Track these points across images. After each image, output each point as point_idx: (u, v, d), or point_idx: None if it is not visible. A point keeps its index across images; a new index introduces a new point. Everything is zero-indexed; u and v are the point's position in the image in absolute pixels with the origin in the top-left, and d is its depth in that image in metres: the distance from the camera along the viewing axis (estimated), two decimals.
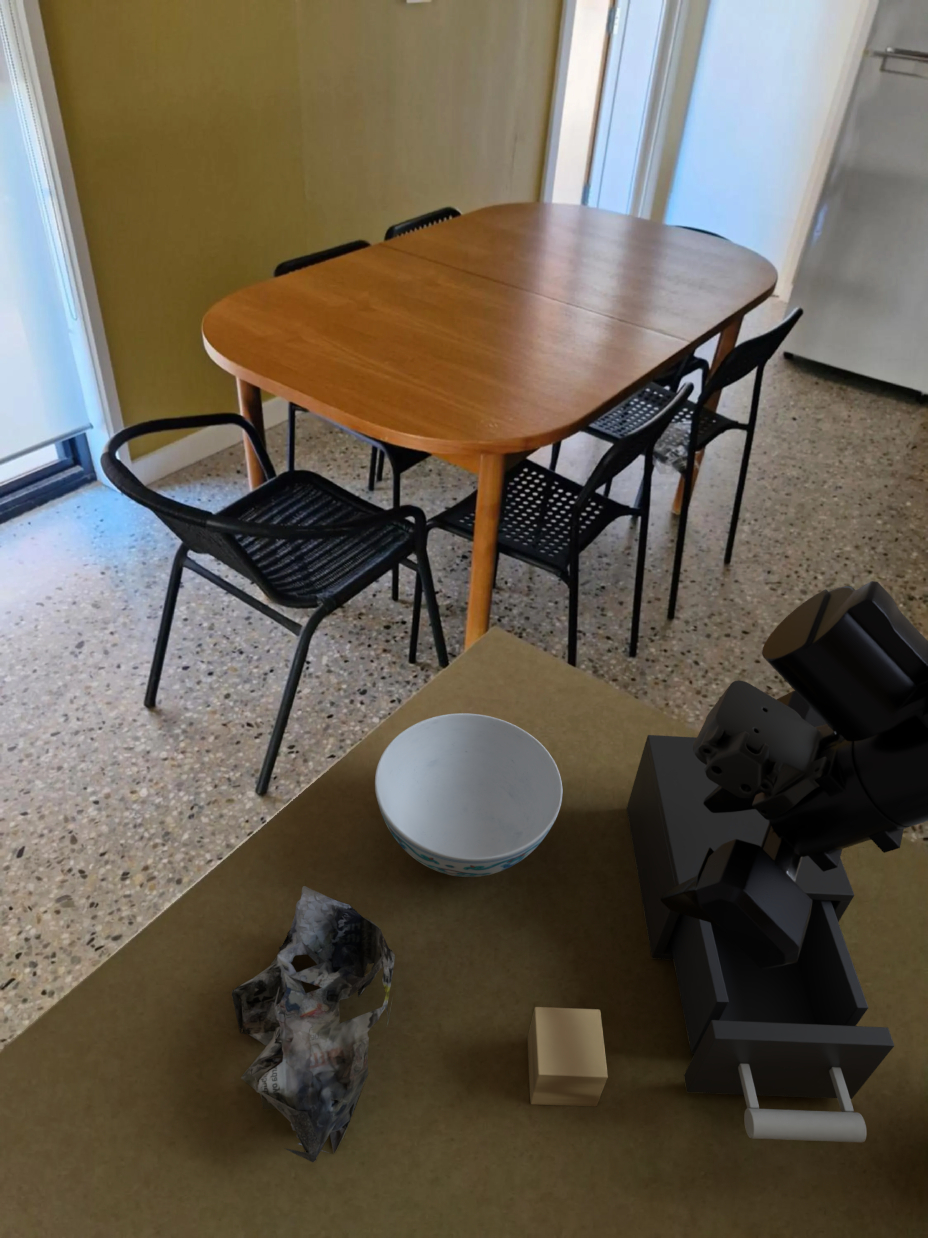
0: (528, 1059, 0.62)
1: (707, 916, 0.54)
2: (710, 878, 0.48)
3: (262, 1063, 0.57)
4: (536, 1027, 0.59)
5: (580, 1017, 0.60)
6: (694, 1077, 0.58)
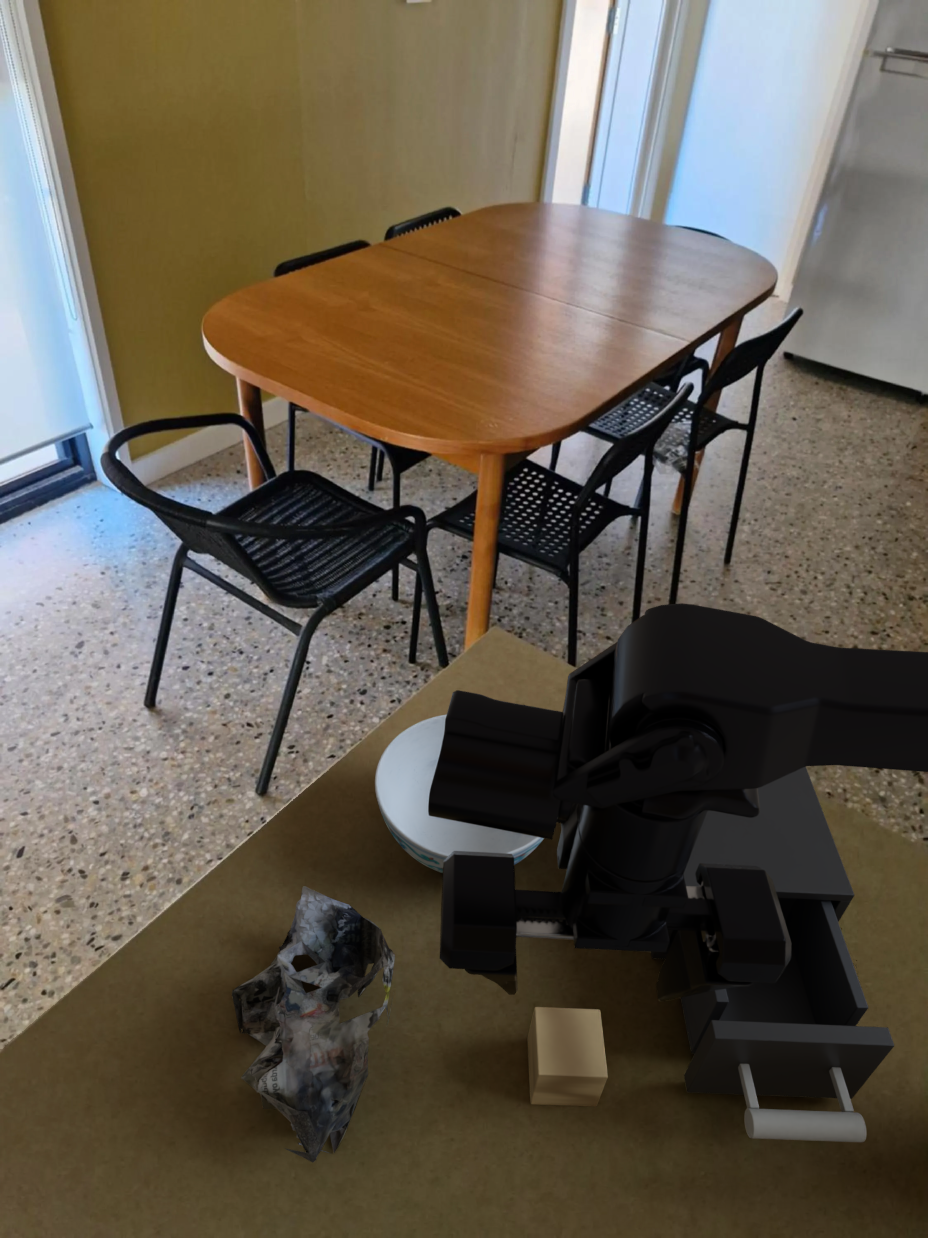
0: (528, 1059, 0.62)
1: None
2: None
3: (262, 1063, 0.57)
4: (536, 1027, 0.59)
5: (580, 1017, 0.60)
6: (694, 1077, 0.58)
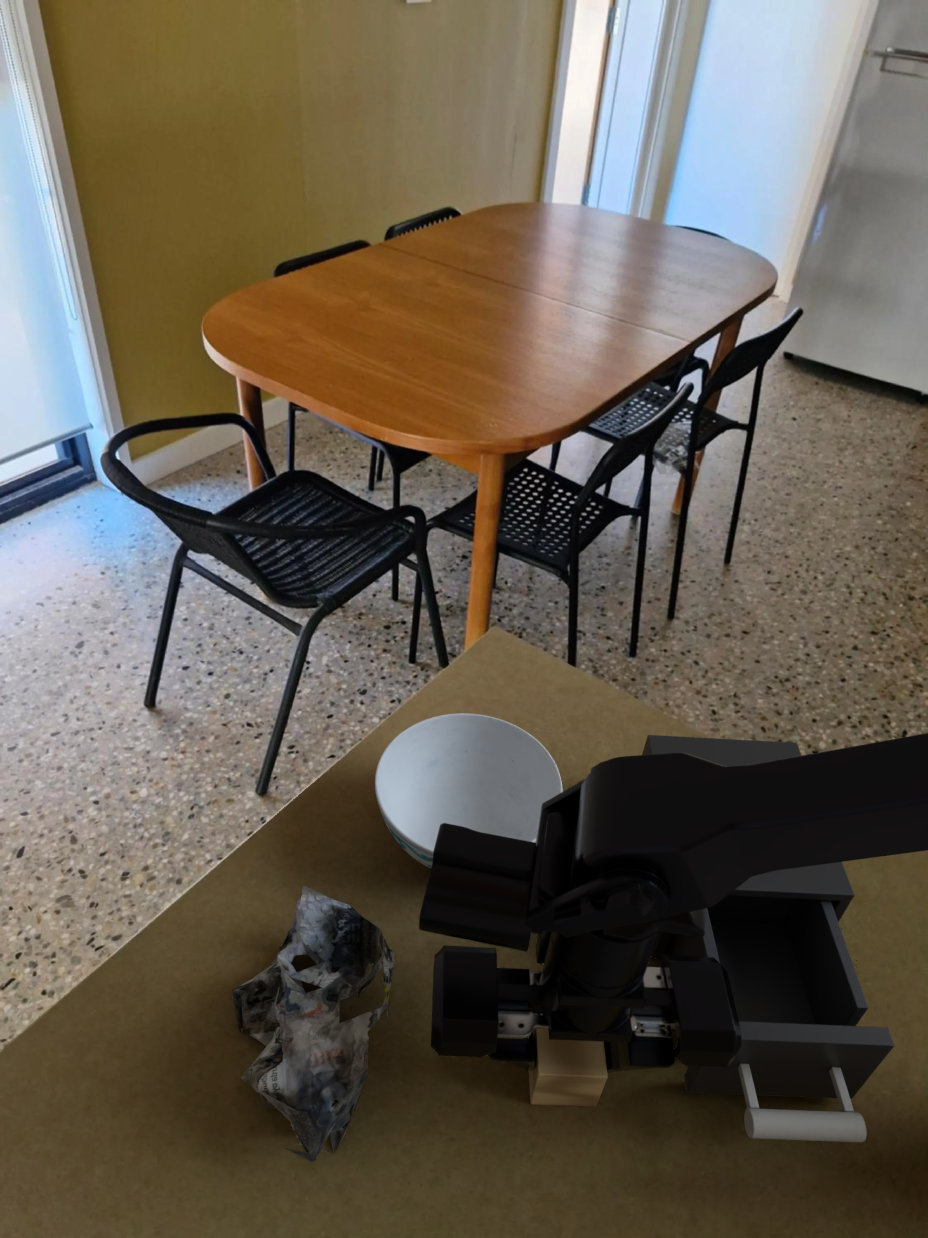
0: None
1: None
2: None
3: (262, 1062, 0.57)
4: None
5: None
6: (694, 1077, 0.58)
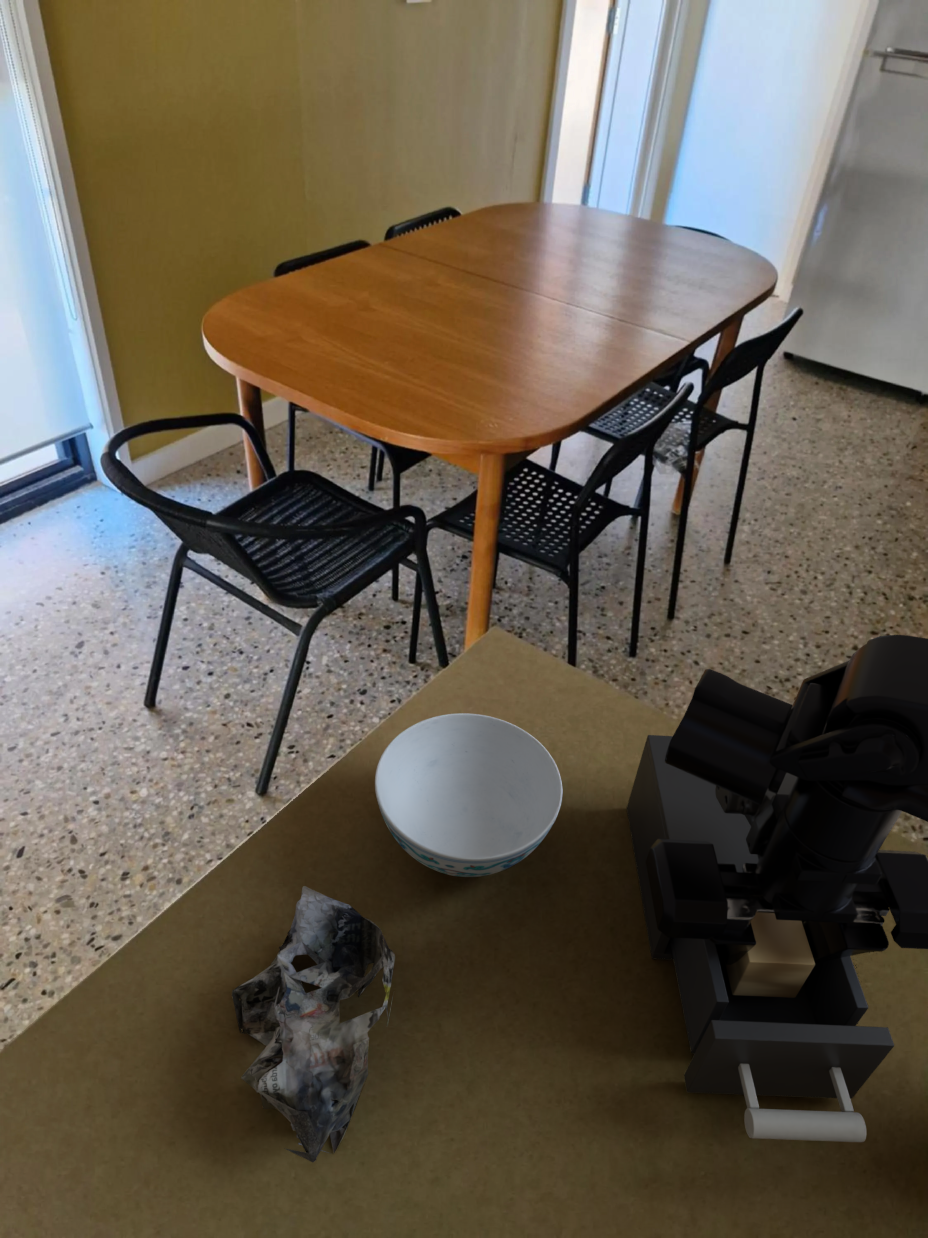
0: (723, 955, 0.64)
1: None
2: None
3: (262, 1063, 0.57)
4: None
5: None
6: (694, 1077, 0.58)
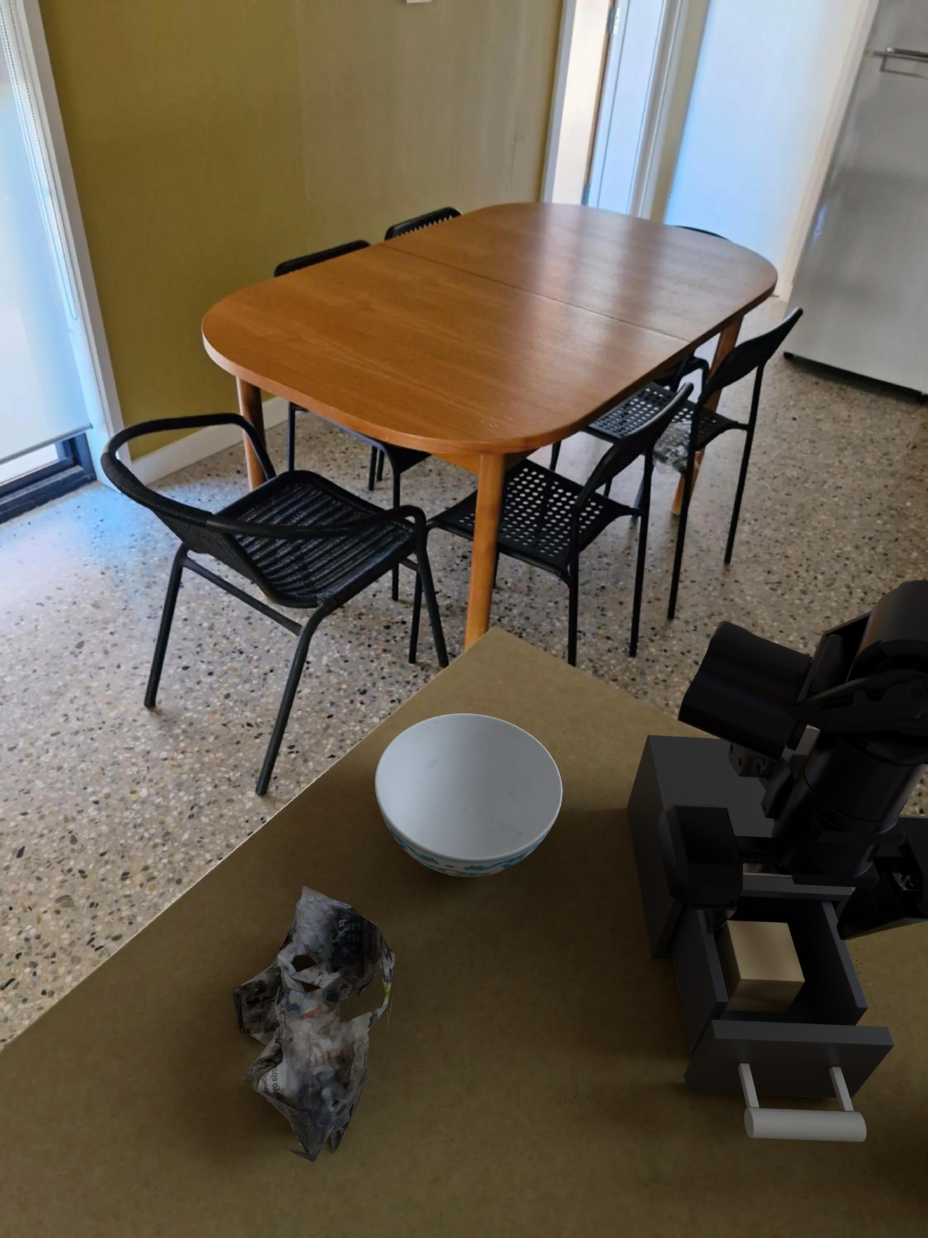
0: None
1: None
2: None
3: (262, 1062, 0.57)
4: (731, 938, 0.63)
5: (770, 929, 0.64)
6: (694, 1077, 0.58)
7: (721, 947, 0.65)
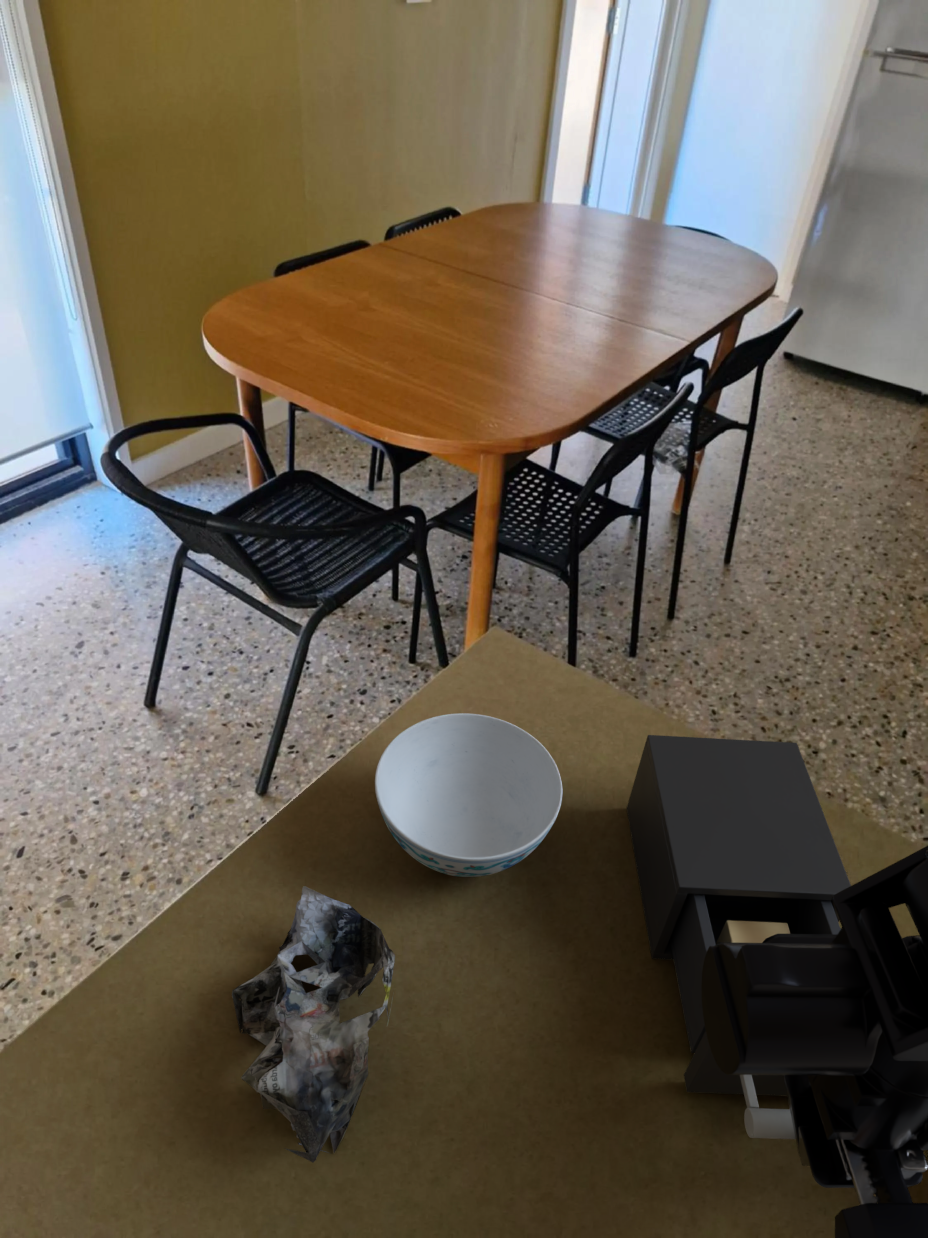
0: None
1: None
2: None
3: (262, 1063, 0.57)
4: (731, 937, 0.63)
5: (770, 929, 0.64)
6: (694, 1077, 0.59)
7: None
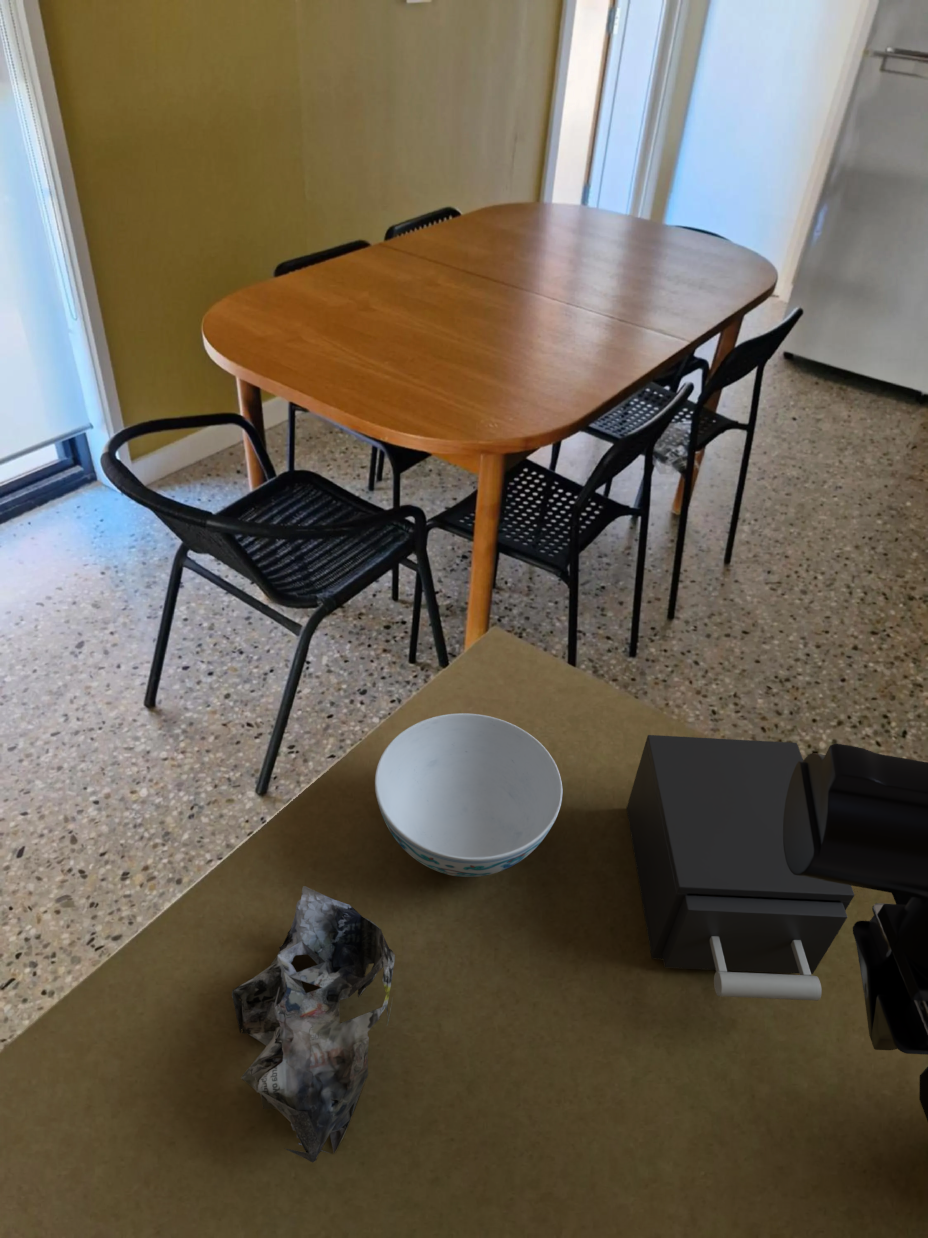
0: None
1: None
2: None
3: (262, 1063, 0.57)
4: None
5: None
6: (671, 951, 0.65)
7: None
